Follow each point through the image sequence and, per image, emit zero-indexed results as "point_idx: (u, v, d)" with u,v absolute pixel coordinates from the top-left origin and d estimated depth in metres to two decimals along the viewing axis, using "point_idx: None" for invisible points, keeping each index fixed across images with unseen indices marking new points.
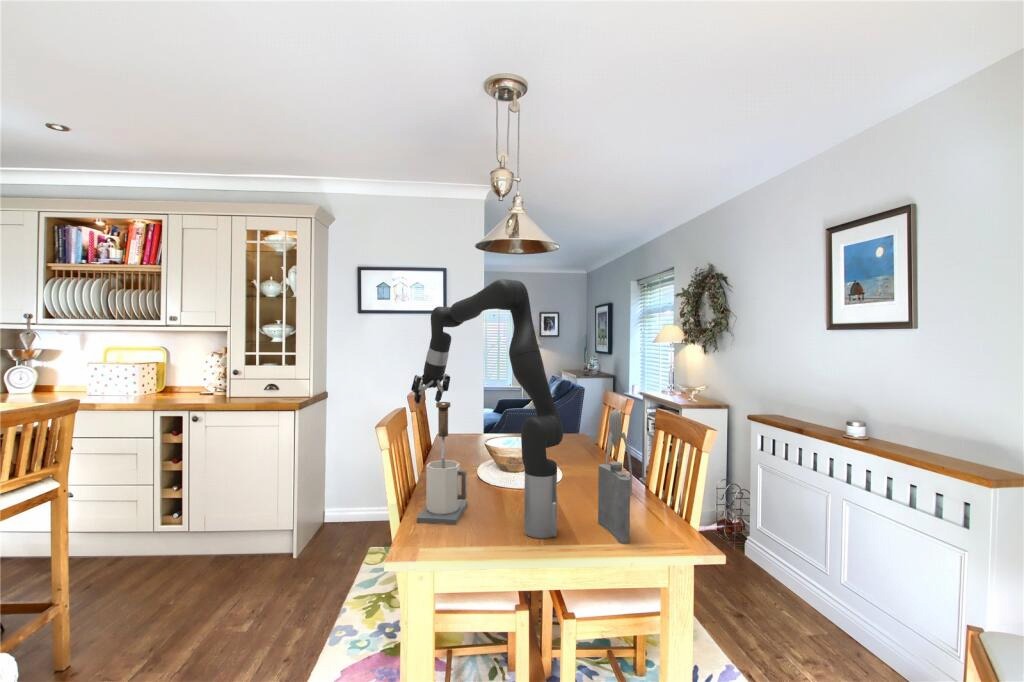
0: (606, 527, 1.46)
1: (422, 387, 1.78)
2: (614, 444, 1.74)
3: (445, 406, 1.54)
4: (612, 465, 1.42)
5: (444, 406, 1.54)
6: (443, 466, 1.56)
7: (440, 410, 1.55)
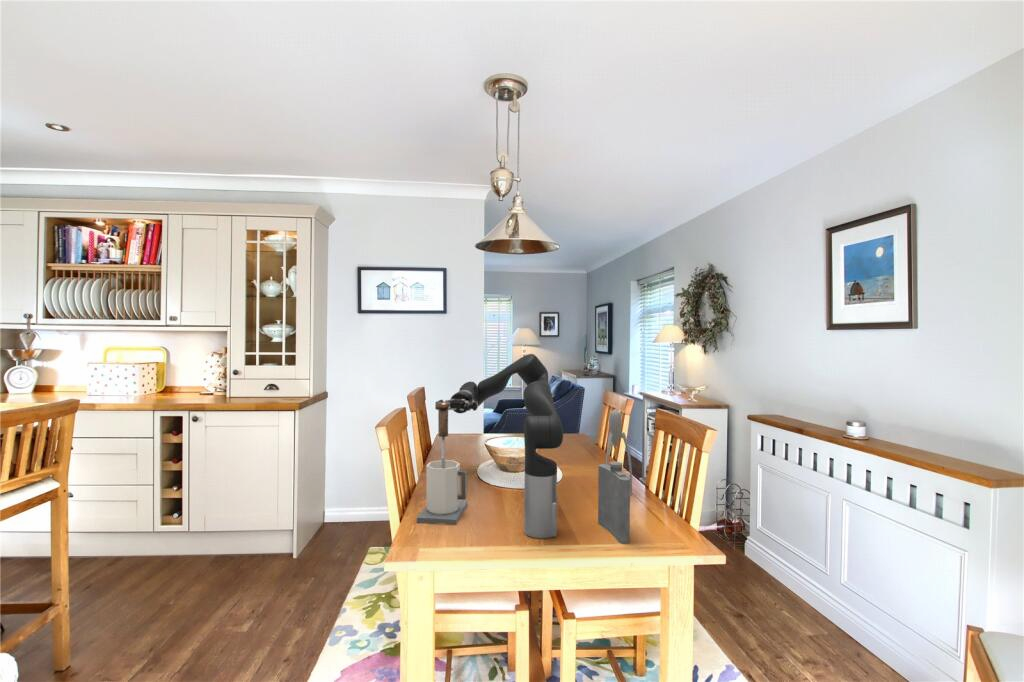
0: (606, 527, 1.46)
1: None
2: (614, 444, 1.74)
3: (445, 406, 1.54)
4: (612, 465, 1.42)
5: (444, 406, 1.54)
6: (443, 466, 1.56)
7: (440, 410, 1.55)
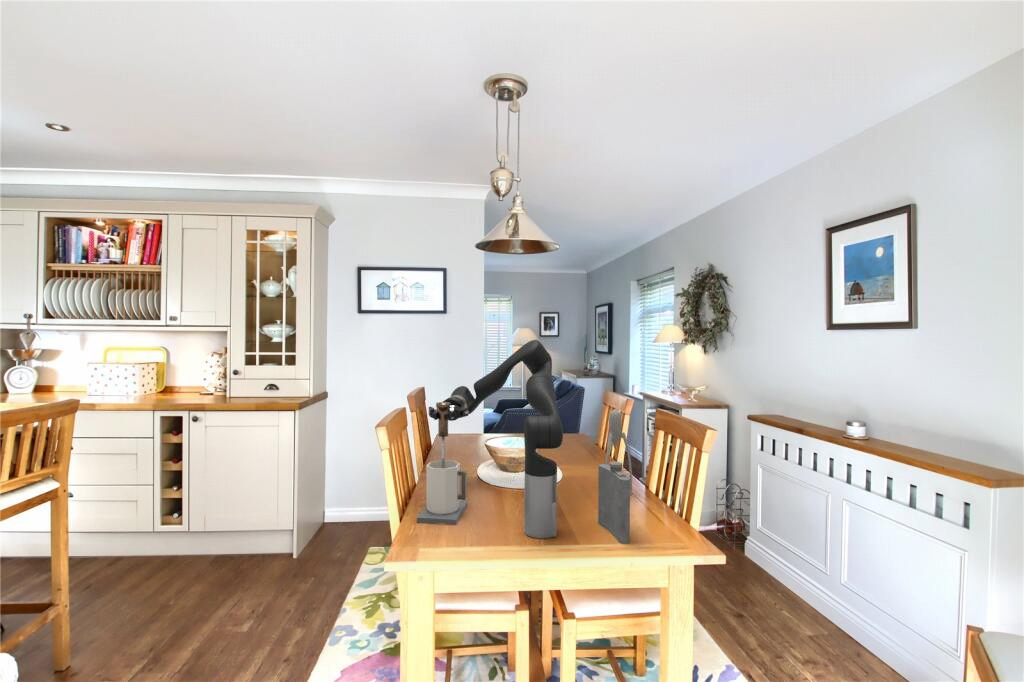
0: (606, 527, 1.46)
1: None
2: (614, 444, 1.74)
3: (445, 406, 1.54)
4: (612, 465, 1.42)
5: (444, 406, 1.54)
6: (443, 466, 1.56)
7: (440, 410, 1.55)
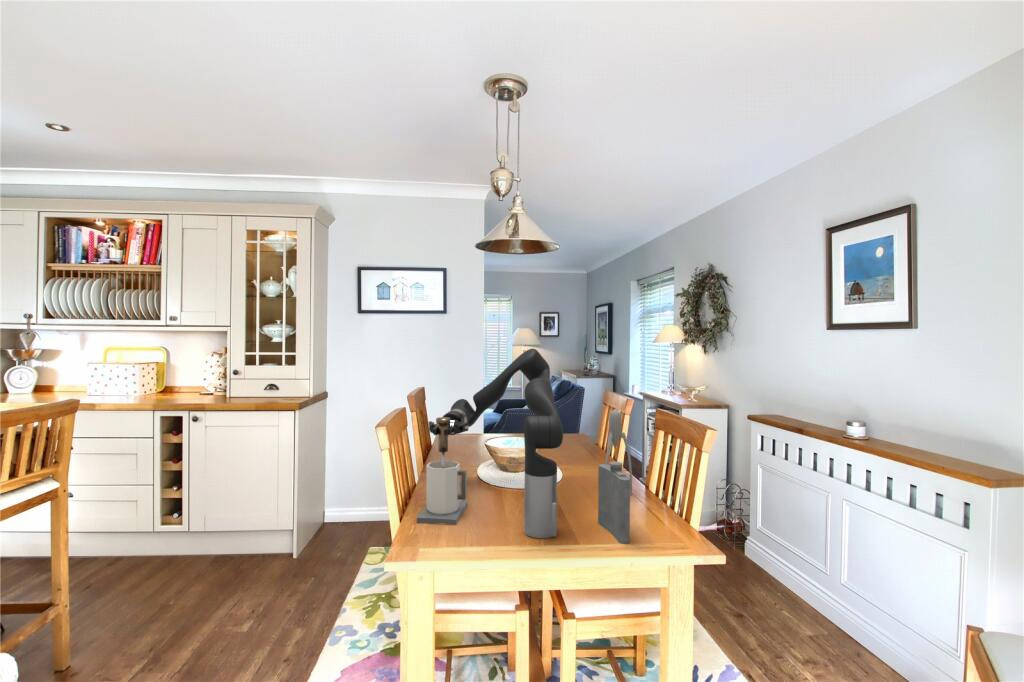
0: (606, 527, 1.46)
1: None
2: (614, 444, 1.74)
3: (445, 422, 1.54)
4: (612, 465, 1.42)
5: (444, 422, 1.54)
6: None
7: (440, 426, 1.55)
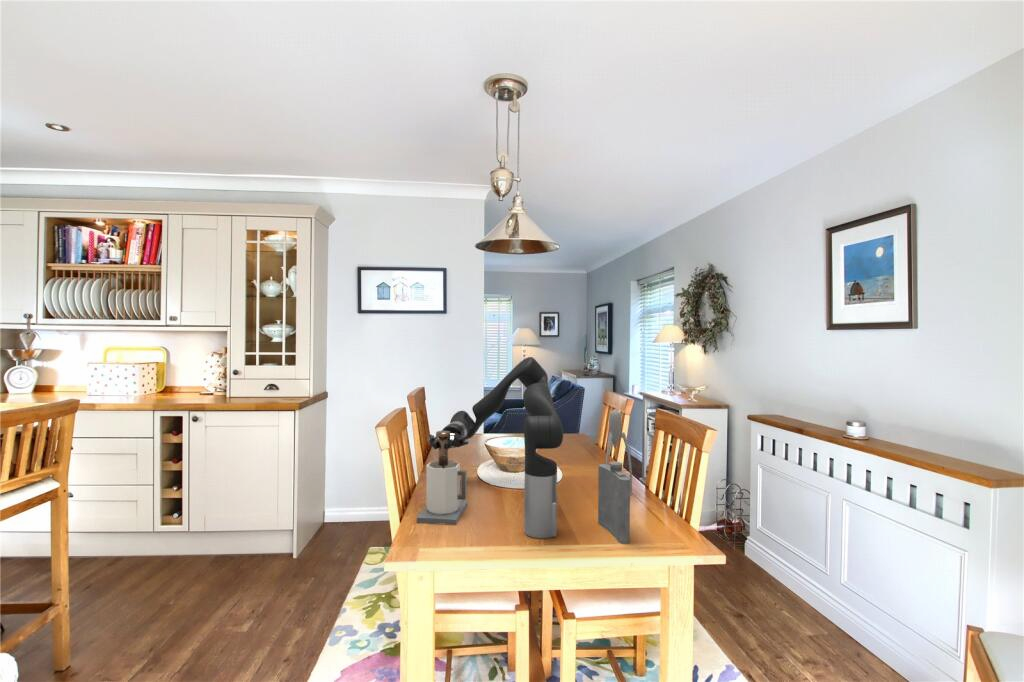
0: (606, 527, 1.46)
1: None
2: (614, 444, 1.74)
3: (445, 436, 1.54)
4: (612, 465, 1.42)
5: (444, 436, 1.54)
6: None
7: (440, 439, 1.55)
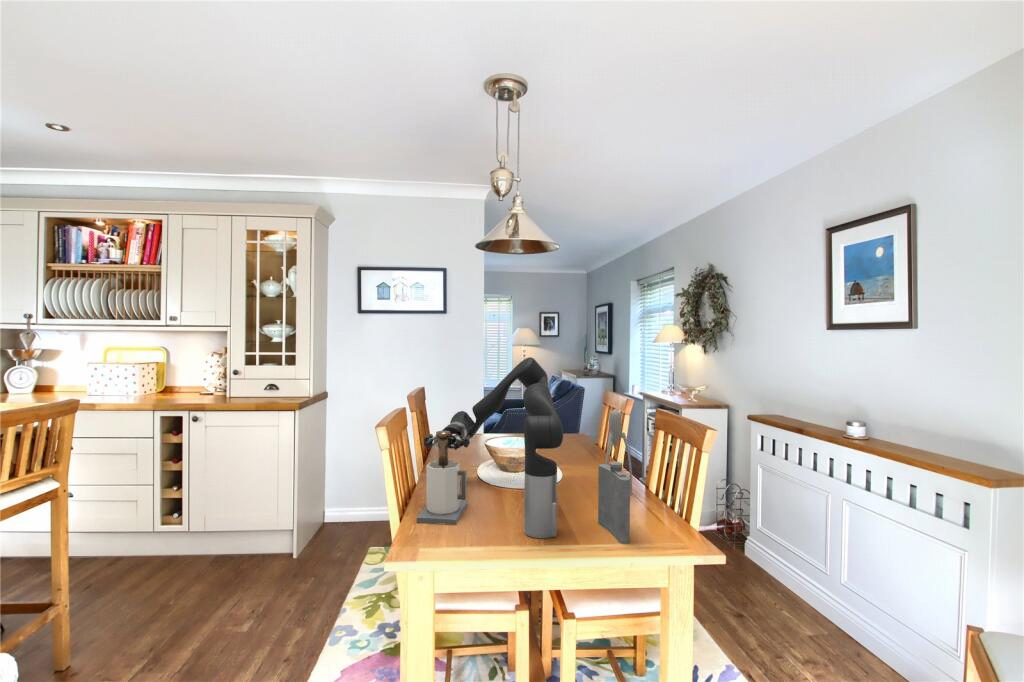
0: (606, 527, 1.46)
1: None
2: (614, 444, 1.74)
3: (445, 435, 1.54)
4: (612, 465, 1.42)
5: (444, 436, 1.54)
6: None
7: (440, 439, 1.55)
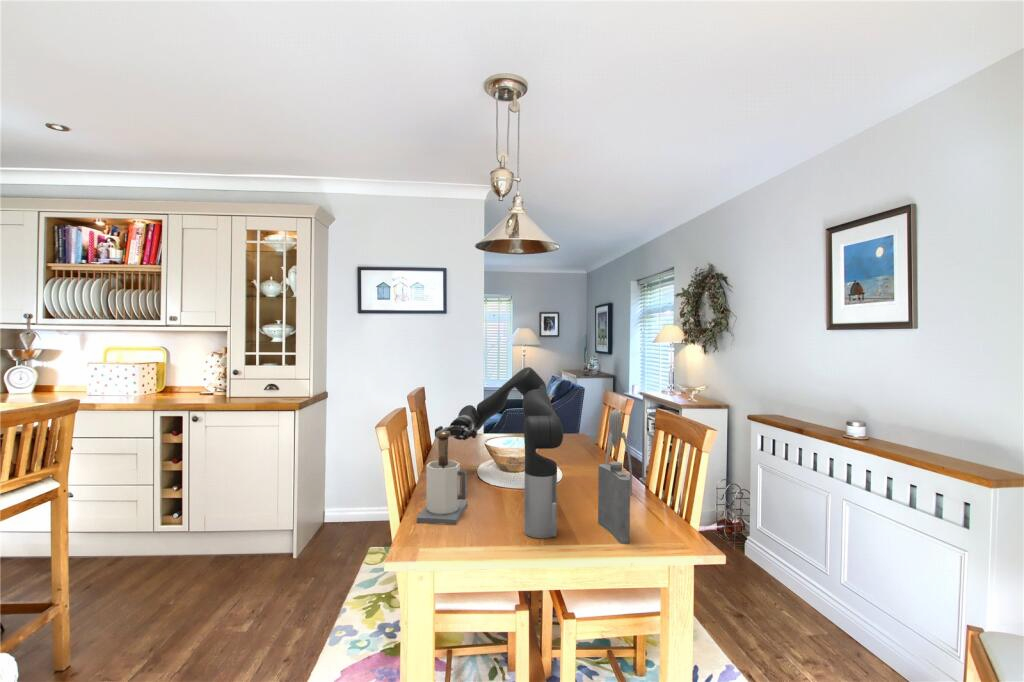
0: (606, 527, 1.46)
1: None
2: (614, 444, 1.74)
3: (445, 435, 1.54)
4: (612, 465, 1.42)
5: (444, 436, 1.54)
6: None
7: (440, 439, 1.55)
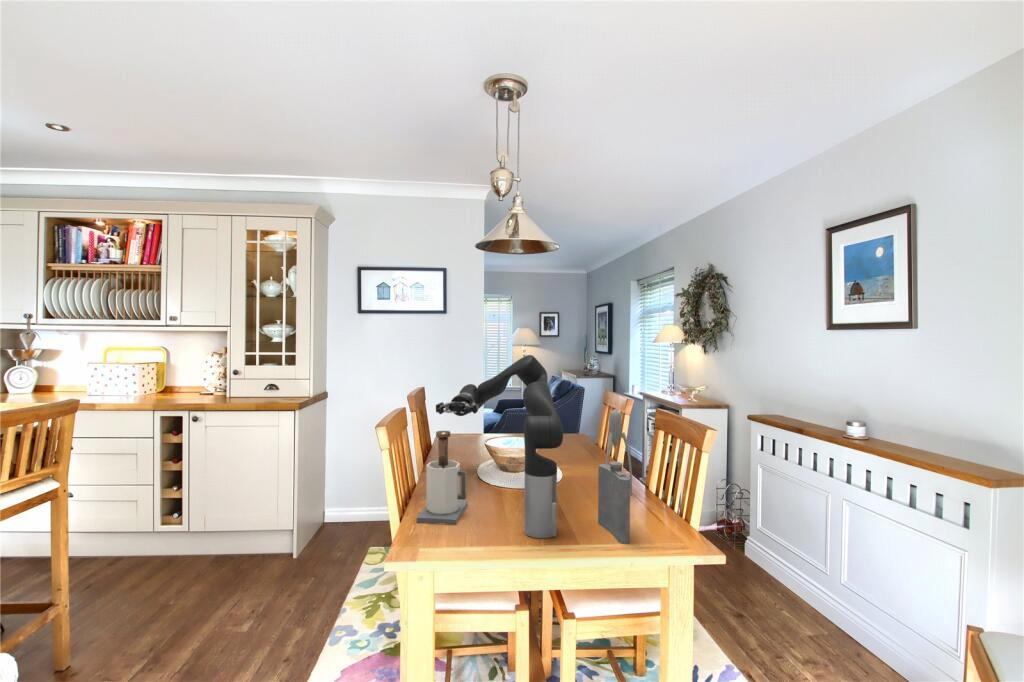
0: (606, 527, 1.46)
1: None
2: (614, 444, 1.74)
3: (445, 435, 1.54)
4: (612, 465, 1.42)
5: (444, 436, 1.54)
6: None
7: (440, 439, 1.55)
